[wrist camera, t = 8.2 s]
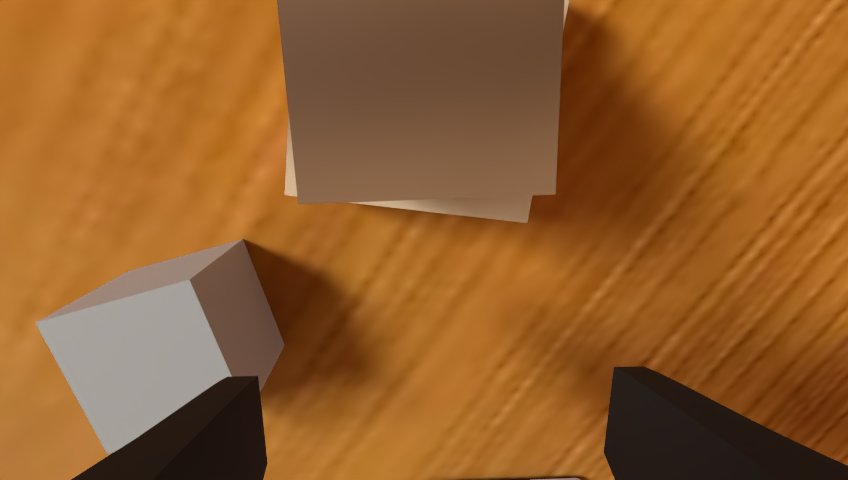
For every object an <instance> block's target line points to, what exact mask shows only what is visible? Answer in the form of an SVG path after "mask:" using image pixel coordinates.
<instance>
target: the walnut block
mask: <svg viewBox="0 0 848 480" xmlns="http://www.w3.org/2000/svg"><path fill="white" fill-rule="evenodd" d="M277 5H278V14H279V24H280V34H281V43H282V53H283V63H284V72H285V82H286V91H287V101H288V111H289V120H290V130H291V140H292V149H293V159H294V169H295V178H296V188H297V198H298V204H322V203H348V202H374V201H400V200H427V199H453V198H479V197H506V196H532V195H556V174H557V152H558V130H559V108H560V86H561V65H562V43H563V21H564V0H277Z"/></svg>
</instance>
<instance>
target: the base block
mask: <svg viewBox="0 0 848 480" xmlns="http://www.w3.org/2000/svg"><path fill="white" fill-rule="evenodd" d="M568 4H569V0H564V21H563V30H564V25H565V20H566V14H567V9H568ZM285 195H289V196H297V188H296V178H295V169H294V159H293V149H292V140H291V130H290V120H288V140H287V159H286V178H285ZM532 196H533V195H532ZM532 196H506V197H479V198H453V199H427V200H400V201H374V202H349V203H357V204H366V205H375V206H383V207H392V208H400V209H409V210H418V211H426V212H435V213H443V214H452V215H461V216H469V217H478V218H486V219H495V220H503V221H512V222H521V223H527V222H528V217H529V212H530V206H531V201H532Z"/></svg>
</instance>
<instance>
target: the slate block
mask: <svg viewBox="0 0 848 480" xmlns="http://www.w3.org/2000/svg"><path fill="white" fill-rule="evenodd" d="M36 325H37V327H38V329H39V330H40V332H41V334H42V336H43V338H44V340H45V341H46V343H47V345H48V347H49V349H50V351H51V352H52V354H53V356H54V358H55V360H56V361H57V363H58V365H59V367H60V369H61V371H62V372H63V374H64V376H65V378H66V380H67V382H68V383H69V385H70V387H71V389H72V391H73V392H74V394H75V396H76V398H77V400H78V402H79V403H80V405H81V407H82V409H83V411H84V413H85V414H86V416H87V418H88V420H89V422H90V423H91V425H92V427H93V429H94V431H95V433H96V434H97V436H98V438H99V440H100V442H101V443H102V445H103V447H104V449H105V451H106V453H107V454H108V453H111V452H115V451H117V450H119V449H120V448H122V447H123V446H125V445H126V444H128V443H129V442H131V441H133V440H134V439H136V438H137V437H139V436H140V435H142V434H143V433H144V432H146V431H147V430H149V429H150V428H152V427H153V426H155V425H156V424H158V423H159V422H160V421H162V420H163V419H165V418H166V417H168V416H169V415H171V414H172V413H173V412H175V411H176V410H178V409H179V408H181V407H182V406H184V405H185V404H186V403H188V402H189V401H191V400H192V399H194V398H195V397H196V396H198V395H199V394H201V393H202V392H204V391H205V390H207V389H208V388H210V387H211V386H213V385H214V384H216V383H217V382H219V381H221V380H222V379H224V378H226V377H233V376H258V379H259V388H260V392H261V390H262V389H263V387H264V385H265V383H266V381H267V379H268V377H269V375H270V373H271V371H272V369H273V367H274V365H275V363H276V361H277V359H278V357H279V355H280V354H281V352H282V350H283V348H284V346H285V344H284V342H283V339H282V337H281V334H280V332H279V329H278V327H277V324H276V321H275V319H274V316H273V314H272V311H271V309H270V306H269V304H268V301H267V299H266V296H265V294H264V291H263V288H262V286H261V283H260V281H259V278H258V276H257V273H256V271H255V268H254V266H253V263H252V261H251V258H250V256H249V253H248V250H247V248H246V245H245V243H244V240H243V239H241V240H238V241H234V242H230V243H227V244H223V245H220V246H216V247H213V248H209V249H205V250H202V251H198V252H195V253H191V254H188V255H184V256H181V257H177V258H173V259H170V260H166V261H163V262H159V263H156V264H152V265H148V266H145V267H141V268H138V269H134V270H131V271H127V272H125V273H124V274H122V275H120V276H118V277H116V278H115V279H113V280H111V281H109V282H107V283H106V284H104V285H102V286H100V287H99V288H97V289H95V290H93V291H91V292H90V293H88V294H86V295H84V296H82V297H81V298H79V299H77V300H75V301H73V302H72V303H70V304H68V305H66V306H64V307H63V308H61V309H59V310H57V311H55V312H54V313H52V314H50V315H48V316H46V317H45V318H43V319H41V320H39V321H37V322H36Z"/></svg>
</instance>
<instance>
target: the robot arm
mask: <svg viewBox="0 0 848 480" xmlns="http://www.w3.org/2000/svg"><path fill="white" fill-rule="evenodd" d="M604 454H605V456H606V458H607V461H608V463H609V466H610V468H611V471H612V473H613V476H614V478H615V480H848V466H847V465H845V464H842V463H840V462H838V461H835V460H833V459H831V458H829V457H827V456H825V455H822V454H820V453H818V452H816V451H814V450H812V449H810V448H808V447H805V446H803V445H801V444H799V443H797V442H795V441H793V440H791V439H788V438H786V437H784V436H782V435H780V434H778V433H776V432H774V431H772V430H770V429H768V428H766V427H764V426H762V425H760V424H758V423H756V422H754V421H752V420H750V419H748V418H746V417H744V416H742V415H740V414H738V413H736V412H734V411H732V410H730V409H729V408H727V407H725V406H723V405H721V404H719V403H717V402H715V401H713V400H711V399H709V398H707V397H705V396H704V395H702V394H700V393H698V392H696V391H694V390H692V389H690V388H688V387H686V386H684V385H682V384H680V383H678V382H676V381H674V380H672V379H670V378H668V377H666V376H664V375H662V374H660V373H658V372H655V371H653V370H651V369H648V368H646V367H614V372H613V380H612V388H611V397H610V405H609V414H608V422H607V430H606V439H605V447H604ZM266 466H267V456H266V446H265V436H264V427H263V417H262V408H261V398H260V388H259V379H258V376H233V377H226V378H224V379H222V380H221V381H219V382H217V383H216V384H214V385H213V386H211V387H210V388H208V389H207V390H205V391H204V392H202V393H201V394H199V395H198V396H196V397H195V398H194V399H192V400H191V401H189V402H188V403H186V404H185V405H184V406H182V407H181V408H179V409H178V410H176V411H175V412H173V413H172V414H171V415H169V416H168V417H166V418H165V419H163V420H162V421H160V422H159V423H158V424H156V425H155V426H153V427H152V428H150V429H149V430H147V431H146V432H144V433H143V434H142V435H140V436H139V437H137V438H136V439H134V440H133V441H131V442H129V443H128V444H126V445H125V446H123V447H122V448H120V449H119V450H117V451H115V452H114V453H112V454H111V455H109V456H108V457H106V458H104V459H103V460H101V461H100V462H98V463H97V464H95V465H94V466H92V467H90V468H89V469H87V470H86V471H84V472H83V473H81V474H79V475H78V476H76V477H75V478H73V479H71V480H263V478H264V474H265V470H266ZM532 480H581V479H579V478H560V479H532Z"/></svg>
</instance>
